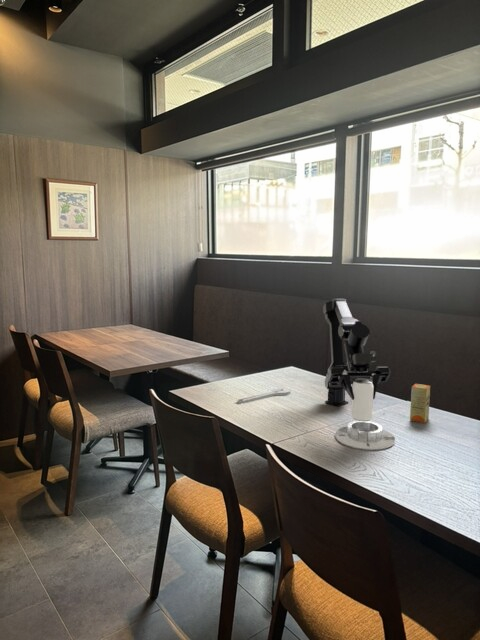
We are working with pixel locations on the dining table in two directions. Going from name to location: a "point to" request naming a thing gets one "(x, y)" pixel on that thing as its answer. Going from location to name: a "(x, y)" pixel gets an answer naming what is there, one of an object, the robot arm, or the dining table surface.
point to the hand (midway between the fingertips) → (363, 398)
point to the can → (362, 399)
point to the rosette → (365, 436)
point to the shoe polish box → (420, 403)
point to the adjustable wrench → (264, 395)
